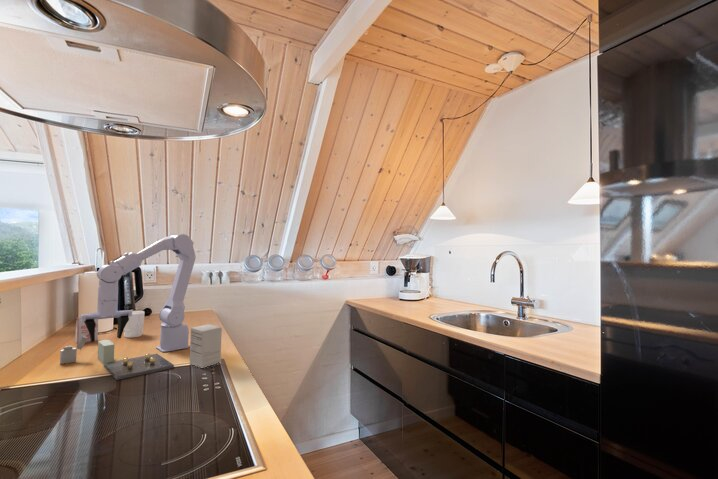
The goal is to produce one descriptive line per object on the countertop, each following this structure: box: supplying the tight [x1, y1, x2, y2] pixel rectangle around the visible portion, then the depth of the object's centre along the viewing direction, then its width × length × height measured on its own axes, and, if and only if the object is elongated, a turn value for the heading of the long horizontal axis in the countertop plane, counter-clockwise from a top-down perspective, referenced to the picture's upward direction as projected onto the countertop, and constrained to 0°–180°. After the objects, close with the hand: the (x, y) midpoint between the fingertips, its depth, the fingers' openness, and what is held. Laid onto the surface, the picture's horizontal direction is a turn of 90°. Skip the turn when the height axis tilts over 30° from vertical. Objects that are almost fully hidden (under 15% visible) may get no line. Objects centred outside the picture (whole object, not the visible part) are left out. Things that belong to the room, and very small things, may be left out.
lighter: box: [59, 336, 88, 365], centre depth 123 cm, size 7×2×8 cm, turn 136°
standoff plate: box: [103, 353, 175, 381], centre depth 120 cm, size 16×16×3 cm
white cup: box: [123, 310, 145, 339], centre depth 157 cm, size 8×8×10 cm
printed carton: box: [74, 316, 99, 345], centre depth 147 cm, size 4×7×10 cm, turn 136°
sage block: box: [97, 339, 115, 365], centre depth 126 cm, size 3×8×6 cm, turn 46°
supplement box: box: [189, 323, 223, 368], centre depth 124 cm, size 7×7×13 cm
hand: (106, 339), depth 126 cm, fingers open, 7 cm apart
